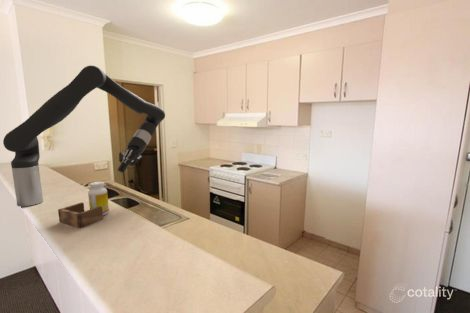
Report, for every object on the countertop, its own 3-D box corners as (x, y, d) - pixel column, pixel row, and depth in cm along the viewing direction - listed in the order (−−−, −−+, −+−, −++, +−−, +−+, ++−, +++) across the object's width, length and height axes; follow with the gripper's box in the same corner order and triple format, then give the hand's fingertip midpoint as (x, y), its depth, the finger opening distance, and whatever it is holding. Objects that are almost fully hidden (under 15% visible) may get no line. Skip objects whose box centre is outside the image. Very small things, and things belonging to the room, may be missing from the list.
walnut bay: (59, 222, 90) (57, 209, 89) (82, 214, 98) (81, 202, 97) (80, 228, 85) (78, 214, 84) (103, 219, 93) (101, 206, 92)
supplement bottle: (112, 211, 101) (110, 181, 99) (102, 217, 95) (99, 185, 93) (97, 210, 102) (94, 180, 100) (86, 216, 95) (83, 185, 94)
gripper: (124, 135, 115) (103, 165, 106) (145, 136, 110) (125, 167, 100) (134, 145, 121) (115, 175, 112) (155, 146, 115) (136, 177, 106)
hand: (120, 171), depth 106 cm, fingers closed
